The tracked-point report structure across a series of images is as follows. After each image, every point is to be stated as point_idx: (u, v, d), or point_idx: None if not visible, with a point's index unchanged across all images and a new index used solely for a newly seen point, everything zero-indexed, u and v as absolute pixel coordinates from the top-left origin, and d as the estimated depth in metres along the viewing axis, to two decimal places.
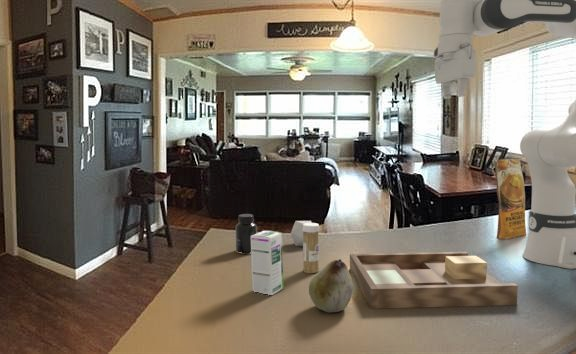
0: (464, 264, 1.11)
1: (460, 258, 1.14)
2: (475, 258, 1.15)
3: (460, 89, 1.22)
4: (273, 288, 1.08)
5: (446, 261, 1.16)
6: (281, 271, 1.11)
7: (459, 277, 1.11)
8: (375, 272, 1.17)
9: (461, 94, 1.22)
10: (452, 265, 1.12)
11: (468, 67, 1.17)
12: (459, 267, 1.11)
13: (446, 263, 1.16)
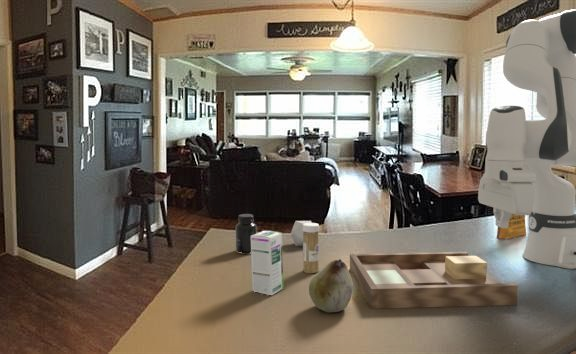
0: (464, 264, 1.11)
1: (460, 258, 1.14)
2: (475, 258, 1.15)
3: None
4: (273, 288, 1.08)
5: (446, 261, 1.16)
6: (281, 271, 1.11)
7: (459, 277, 1.11)
8: (375, 272, 1.17)
9: None
10: (452, 265, 1.12)
11: None
12: (459, 267, 1.11)
13: (446, 263, 1.16)
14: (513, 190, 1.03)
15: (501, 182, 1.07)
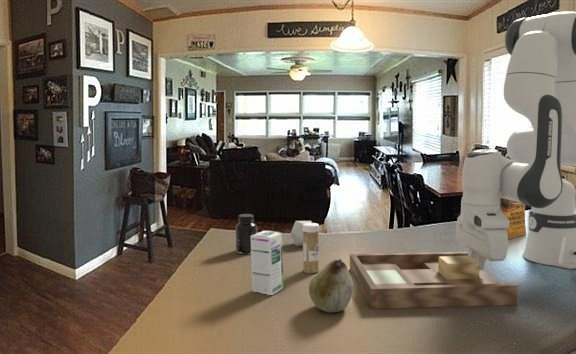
0: (457, 264, 1.11)
1: (453, 259, 1.14)
2: (468, 258, 1.14)
3: None
4: (273, 288, 1.08)
5: (439, 261, 1.16)
6: (281, 271, 1.11)
7: (452, 277, 1.11)
8: (375, 272, 1.17)
9: None
10: (445, 266, 1.12)
11: None
12: (452, 267, 1.11)
13: (439, 263, 1.16)
14: (487, 237, 1.04)
15: (476, 227, 1.08)
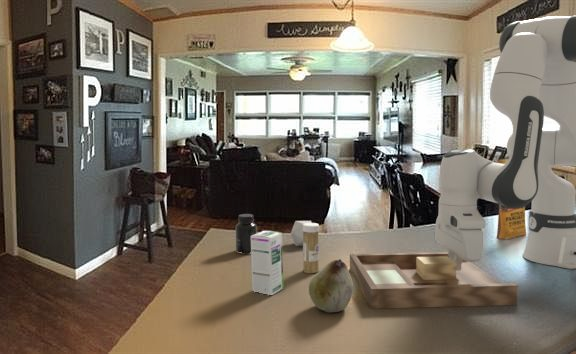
0: (434, 265, 1.11)
1: (431, 259, 1.14)
2: (445, 259, 1.14)
3: None
4: (273, 288, 1.08)
5: (417, 262, 1.16)
6: (281, 271, 1.11)
7: (429, 278, 1.11)
8: (375, 272, 1.17)
9: None
10: (422, 266, 1.12)
11: None
12: (428, 267, 1.11)
13: (417, 264, 1.16)
14: (462, 237, 1.04)
15: (452, 227, 1.08)
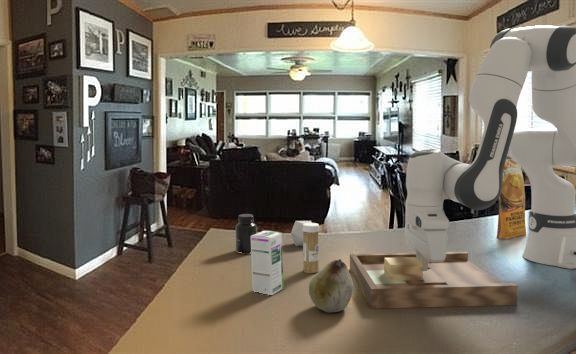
0: (400, 265, 1.10)
1: (398, 260, 1.14)
2: (413, 259, 1.14)
3: None
4: (273, 288, 1.08)
5: (385, 262, 1.15)
6: (281, 271, 1.11)
7: (395, 279, 1.10)
8: (375, 272, 1.17)
9: None
10: (389, 267, 1.11)
11: None
12: (394, 268, 1.10)
13: (385, 264, 1.15)
14: (426, 238, 1.03)
15: (418, 227, 1.08)
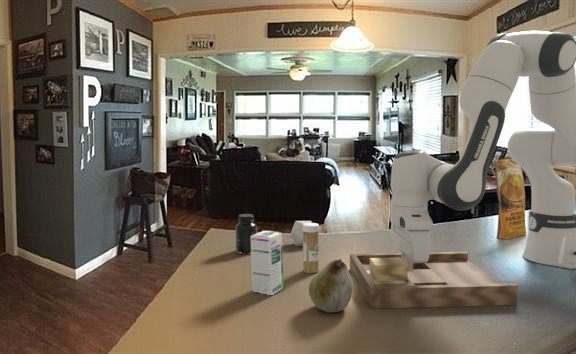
0: (384, 266, 1.10)
1: (383, 260, 1.13)
2: (398, 260, 1.14)
3: None
4: (273, 288, 1.08)
5: (370, 263, 1.15)
6: (281, 271, 1.11)
7: (380, 279, 1.10)
8: None
9: None
10: (374, 267, 1.11)
11: None
12: (379, 269, 1.10)
13: (370, 265, 1.15)
14: (409, 238, 1.03)
15: (402, 228, 1.08)
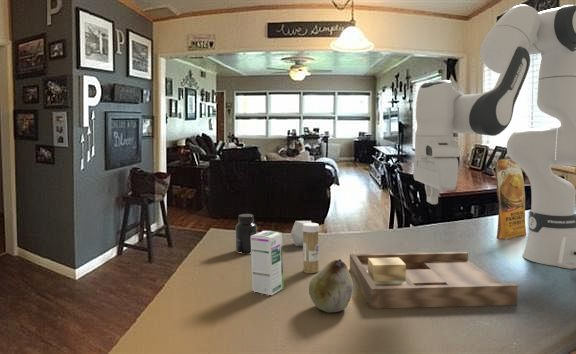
0: (383, 266, 1.10)
1: (381, 260, 1.13)
2: (396, 260, 1.14)
3: None
4: (273, 288, 1.08)
5: (368, 263, 1.15)
6: (281, 271, 1.11)
7: (378, 279, 1.10)
8: None
9: None
10: (372, 267, 1.11)
11: None
12: (377, 269, 1.10)
13: (368, 265, 1.15)
14: (437, 165, 1.02)
15: (428, 157, 1.06)
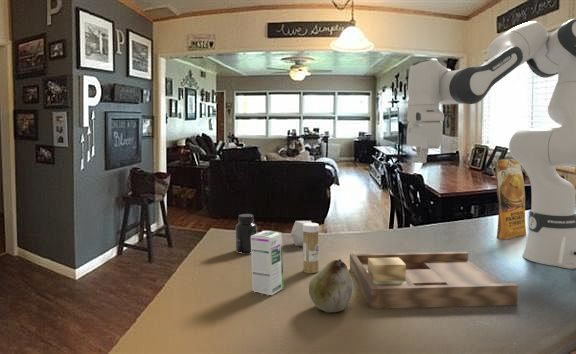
0: (383, 266, 1.10)
1: (381, 260, 1.13)
2: (396, 260, 1.14)
3: None
4: (273, 288, 1.08)
5: (368, 263, 1.15)
6: (281, 271, 1.11)
7: (378, 279, 1.10)
8: None
9: None
10: (372, 267, 1.11)
11: None
12: (377, 269, 1.10)
13: (368, 265, 1.15)
14: (424, 127, 1.24)
15: (417, 123, 1.28)
